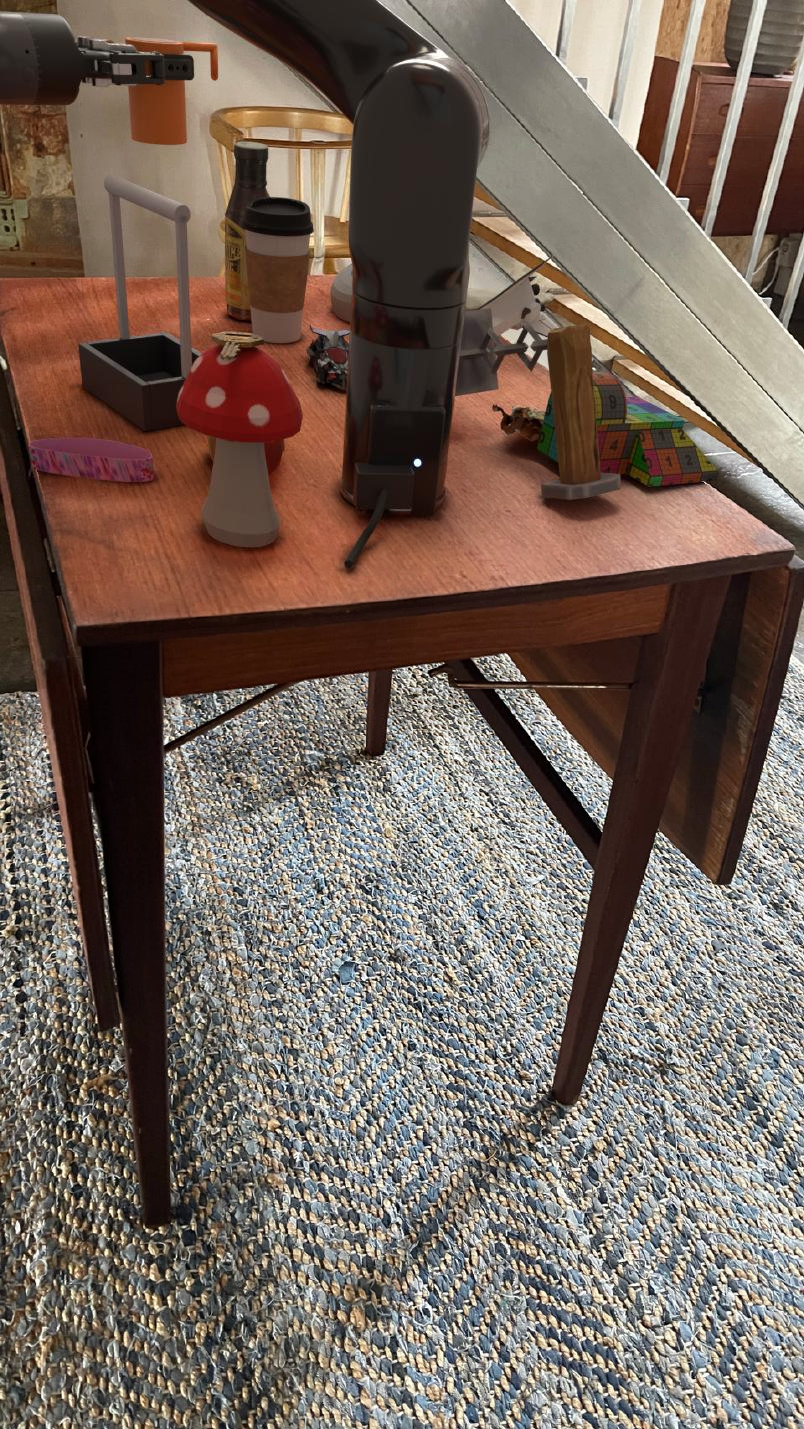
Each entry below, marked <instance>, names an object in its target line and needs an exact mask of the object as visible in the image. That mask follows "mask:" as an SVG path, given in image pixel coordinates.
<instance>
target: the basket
mask: <svg viewBox="0 0 804 1429" xmlns="http://www.w3.org/2000/svg"><path fill="white" fill-rule="evenodd" d="M103 187H104V189H105V191H106V192H107V193H108V205H109V215H110V216H109V217H110V230H111V242H112V254H113V255H112V256H113V268H114V269H113V270H114V281H115V283H114V284H115V295H116V296H115V297H116V307H117V308H116V309H117V319H118V321H117V322H118V333H119V337H117V338H116V337H115V338H107V339H100V340H99V339H98V340H92V341H85V342H78V343H77V346H78V356H79V366H80V376H81V387H82V388H84V389H85V390H86V391H88V392H89V393H90V394H92V395H94V396H95V397H96V398H98V399H99V400H100V401H102V402H103V403H105V404H106V405H107V406H108V407H110V408H111V409H113V410H114V411H116V412H117V413H119V414H120V415H121V416H122V417H124V418H125V419H127V420H128V421H129V422H131V423H132V424H134V425H135V426H137V427H138V428H139V429H140V430H141V431H143V432H150V431H151V432H152V431H155V430H162V429H166V428H172V427H178V426H183V425H185V424H183V423H182V422H181V421H180V418H179V416H178V413H177V409H176V403H177V399H178V395H179V392H180V390H181V388H182V386H183V384H184V382H185V380H186V378H187V376H188V374H189V372H190V369H191V367H192V365H193V363H194V362H195V360H196V359H197V358H198V357H199V356H200V355H201V354H202V353H203V352H201V351H199V350H198V349H196V348H194V347H193V346H192V329H191V328H192V327H191V326H192V325H191V301H190V300H191V299H190V297H191V296H190V279H189V278H190V274H189V272H190V271H189V250H188V249H189V248H188V247H189V246H188V242H189V241H188V223H189V222H190V219H191V217H192V215H191V214H192V213H191V209H190V208H189V206H188V205H186V204H183V203H181V202H179V201H176V200H174V199H171V198H169V197H167V196H165V195H163V194H159V193H157V192H155V191H153V190H150V189H148V188H145V187H143V186H141V185H138V184H135V183H133V182H130V181H128V180H126V179H124V178H121V177H119V176H117V175H114V174H108V175H107V176H106V177H105V178H104V180H103ZM121 199H123V200H125V201H127V202H130V203H132V204H134V205H136V206H139V207H141V208H143V209H146V210H148V211H150V212H152V213H155V214H157V215H159V216H161V217H164V218H165V219H168V220H170V221H171V222H174V225H175V226H174V227H175V229H174V230H175V249H176V271H177V272H176V273H177V296H178V315H179V316H178V320H179V338H177V337H175V336H173V335H172V334H170V333H168V332H166V331H165V332H157V333H148V334H141V335H133V336H131V335H130V323H129V308H128V294H127V281H126V266H125V251H124V239H123V224H122V223H123V222H122V211H121Z"/></svg>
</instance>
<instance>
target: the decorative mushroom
mask: <svg viewBox="0 0 804 1429" xmlns="http://www.w3.org/2000/svg"><path fill="white" fill-rule="evenodd" d="M223 348H224V346H222V345H219V344H216V345H213V346H211V347H208V349H205V350H204V351H203V352H201V353H202V354H201V355H200V356H199V357H198V358H197V359H196V360H195V362H194V363H193V365H192V367H191V369H190V372H189V374H188V376H187V378H186V380H185V382H184V384H183V386H182V388H181V390H180V392H179V395H178V399H177V403H176V409H177V413H178V416H179V418H180V421H181V422H182V423H183V424H184V425H185V426H186V427H187V428H189V429H190V430H192V431H195V432H196V433H197V432H198V433H199V434H201V435H204V436H206V437H207V436H210V437H213V438H216V446H215V456H214V462H213V461H212V469H211V477H210V483H209V488H208V493H207V496H206V498H205V500H204V503H203V506H202V507H201V510H200V516H201V519H202V521H203V525H204V527H205V530H206V532H207V534H208V535H209V536H211V537H212V538H213V539H214V540H216V541H218V542H220V543H223V544H227V545H230V546H234V547H239V548H260V547H265V546H268V545H270V544H273V542H275V540H276V538H277V535H278V533H279V530H280V527H281V524H282V523H281V522H282V521H281V518H280V515H279V513H278V510H277V508H276V506H275V504H274V498H273V494H272V490H271V484H270V478H269V477H270V476H268V470H267V464H266V458H265V449H264V443H266V442H274V441H280V440H283V439H284V440H286V439H289V438H293V437H294V436H296V435H297V434H298V433H299V432H301V428H302V424H303V423H302V422H303V417H304V414H303V410H302V409H303V408H302V406H301V402H300V399H299V397H298V395H297V394H296V392H295V391H294V389H293V387H292V385H291V383H290V380H289V377H288V376H287V374H286V373H285V370H284V369H283V368H282V367H281V366H280V364H279V363H278V362H277V361H276V359H274V358H273V357H272V356H271V355H270V354H268V353H267V352H265V351H263V350H262V349H260V348H258V347H257V346H255V347H250V348H245V347H244V348H243V347H241V348H239V349H241V352H240V353H237V357H236V358H235V359H231V360H228V359H226V358H224V360H222V359H221V352H222V350H223Z"/></svg>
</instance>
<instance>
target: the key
mask: <svg viewBox="0 0 804 1429" xmlns="http://www.w3.org/2000/svg"><path fill="white" fill-rule="evenodd" d="M210 337H211V341H212V342H214V343H215V344H216V345H218V344H219V345H222V346H224V348H223V350H222V352H221V359H222V360H224V358H226V359H228V360H231V359H235V358H236V357H237V353H240V352H241V349H239V348H241V347H243V348H244V347H245V348H250V347H259V346H263V345H264V344H265V341H264V338H263V337H260V336H258V335H256V334H254V333H253V332H243V331H231V330H230V331H229V330H227V331H221V332H216V333H211V336H210Z"/></svg>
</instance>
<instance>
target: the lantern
mask: <svg viewBox="0 0 804 1429" xmlns="http://www.w3.org/2000/svg"><path fill="white" fill-rule="evenodd" d="M528 334H529V335H530V336H531V337H532V339H533V340H532V342H531V344H530V346H529V345H528V343H527V342H526V341H525V339H526V337H527V335H528ZM495 345H496V346H495ZM529 348H530V349H531V350H532V351H533V352H534V353H533V356H532V358H531V360H530V358H529V357H528V356H527V355H526V352H527V351H528V349H529ZM543 351H546V357H547V365H548V375H549V384H550V393H551V394H552V404H553V414H554V424H555V434H556V443H557V453H558V463H559V464H558V463H557V464H558V472H559V479H556V480H550V481H546V482H542V483H540V489H541V490H540V492H541V497H542V498H552V499H560V500H568V501H571V500H579V499H587V498H588V499H589V498H592V497H596V496H599V495H603V494H608V493H611V492H615V491H619V490H621V488H622V483H621V482H622V480H621V474H610V473H600V460H599V448H598V436H597V424H596V412H595V399H594V387H593V372H594V371H593V347H592V343H591V327H590V326H589V324H588V323H582V324H574V325H565V326H559V327H557V328H554V329H552V330H551V331H550V332H549V333H548V338H546V339H545V338H544V339H543V338H542V337H541V335H539V334H537V332H536V331H535V330H534V329H533V327H532V326H531V325H530V324H529V323H528V321H527V322H526V324H525V326H524V328H522V330H521V331H520V334H519V336H518V338H517V340H516V342H515V343H509V344H507V343H506V344H505V343H504V342H503V341H502V340H501V338H500V336H497V334H496V333H495V332H494V331H493V323H492V312H491V308H490V309H481V310H473V311H465V317H464V325H463V334H462V341H461V349H460V358H459V367H458V375H457V384H456V392H455V397H460V396H461V397H462V396H466V395H472V394H479V393H484V392H485V393H486V392H491V391H496V390H499V388H500V387H499V378H498V371H499V369H500V367H501V365H502V362H503V361H504V359H505V356H508V355H517V356H518V357H519V358H520V360H521V361H522V362H523V364H524V366H525V367H527V369H528V370H529V371H530V372H531V373H532V372H533V370H534V369H535V366H536V364H537V363H538V361H539V359H540V357H541V355H542V353H543Z"/></svg>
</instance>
